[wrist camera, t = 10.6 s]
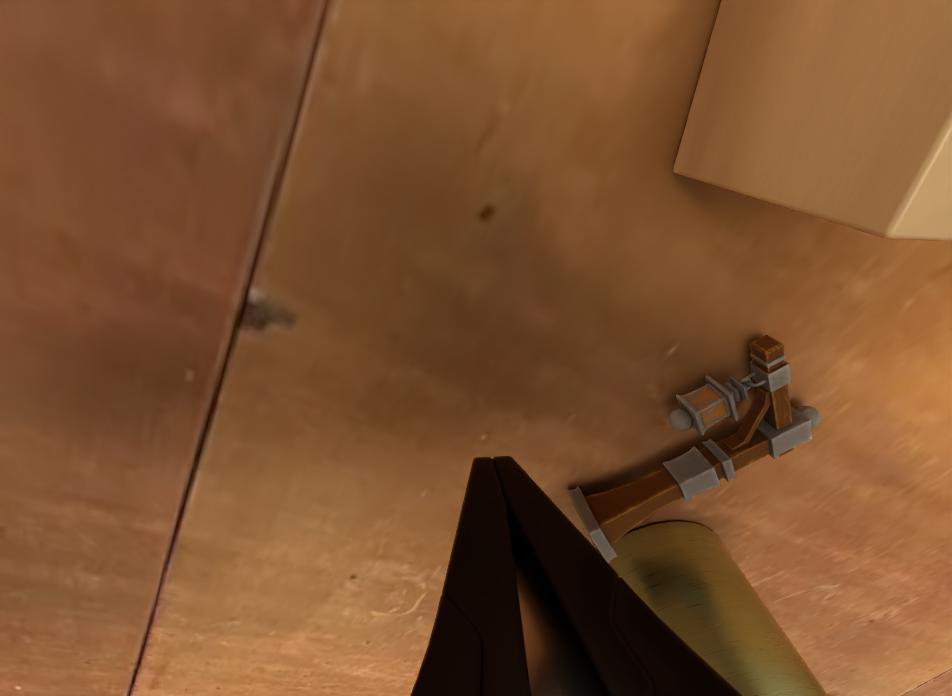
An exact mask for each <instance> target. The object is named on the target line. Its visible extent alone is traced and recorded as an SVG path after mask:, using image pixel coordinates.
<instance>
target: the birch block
mask: <svg viewBox="0 0 952 696" xmlns="http://www.w3.org/2000/svg"><path fill="white" fill-rule="evenodd" d="M673 172H675V173H676V174H679V175H683V176H686V177H689V178H692V179H695V180H699V181H702V182H705V183H708V184H712V185H715V186H718V187H721V188H724V189H728V190H731V191H734V192H737V193H741V194H744V195H747V196H750V197H753V198H757V199H760V200H763V201H766V202H770V203H773V204H776V205H779V206H782V207H786V208H789V209H792V210H795V211H799V212H802V213H805V214H808V215H811V216H815V217H818V218H821V219H824V220H828V221H831V222H834V223H837V224H840V225H844V226H847V227H850V228H853V229H857V230H860V231H863V232H866V233H869V234H873V235H876V236H879V237H882V238H889V239H912V240H936V241H952V0H721V4H720V7H719V11H718V14H717V18H716V21H715V25H714V28H713V32H712V35H711V39H710V42H709V46H708V49H707V53H706V56H705V60H704V63H703V67H702V70H701V74H700V77H699V80H698V84H697V87H696V91H695V94H694V98H693V101H692V105H691V108H690V112H689V115H688V119H687V122H686V126H685V129H684V133H683V136H682V140H681V143H680V147H679V150H678V154H677V157H676V161H675V164H674V168H673Z"/></svg>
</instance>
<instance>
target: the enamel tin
mask: <svg viewBox="0 0 952 696" xmlns="http://www.w3.org/2000/svg"><path fill="white" fill-rule="evenodd" d="M612 547H613V549H614V551H615V552H616V554H617V556H618V557H614V558H613V559H611V560H610V562H609V564H610V565H611V567H612V568H613V569H614V570H615V571H616V572H617V573H618V578H619V577H621V578H623V580H624V581H625V582H626V583H627V584H628V585H629V586H630V587H631V588H632V589H633V590H634V592H635V593H636V594H637V595H638V596H639V597H640V598H641V599H642V600H643V601H644V602H645V603H646V604H647V605H648V606H649V607H650V608H651V609H652V611H653V612H654V613H655V614H656V615H657V616H658V617H659V618H660V619H661V620H662V621H663V622H664V623H666V624H667V625H668V626H669V627H670V628H671V629H672V630H673V631H674V632H675V633H676V634H677V635H678V636H679V637H680V638H681V639H682V640H683V641H684V642H685V643H686V644H687V645H689V646H690V647H691V648H692V649H693V650H694V651H695V652H696V653H697V654H698V655H699V656H700V657H702V658H703V659H704V660H705V661H706V662H707V663H708V664H709V665H710V666H711V667H712V668H713V669H714V670H716V671H717V672H718V673H719V674H720V675H721V676H722V677H723V678H724V679H725V680H726V681H727V682H729V683H730V684H731V685H732V686H733V687H734V688H735V689H736V690H737V691H738V692H739V693H740V694H742V695H743V696H828V695H827V693H826V692H825V690H824V689H823V687H822V686H821V685H820V683H819V682H818V680H817V679H816V677H815V676H814V674H813V673H812V672H811V670H810V669H809V667H808V666H807V664H806V663H805V662H804V660H803V659H802V657H801V656H800V654H799V653H798V651H797V650H796V649H795V647H794V646H793V644H792V643H791V641H790V640H789V639H788V637H787V636H786V634H785V633H784V631H783V630H782V628H781V627H780V626H779V624H778V623H777V621H776V620H775V618H774V617H773V616H772V614H771V613H770V611H769V610H768V608H767V607H766V605H765V604H764V603H763V601H762V600H761V598H760V597H759V595H758V594H757V593H756V591H755V590H754V588H753V587H752V585H751V584H750V582H749V581H748V580H747V578H746V577H745V575H744V574H743V572H742V571H741V570H740V568H739V567H738V565H737V564H736V562H735V561H734V559H733V558H732V557H731V555H730V554H729V552H728V551H727V549H726V548H725V547H724V545H723V544H722V542H721V541H720V539H719V538H718V537H717V535H716V534H715V533H714V532H713V531H711V530H710V529H709V528H707V527H705V526H703V525H700V524H697V523H691V522H681V521H679V522H665V523H658V524H653V525H649V526H646V527H642V528H639V529H637V530H634V531H631V532H629V533H627V534H625V535H623V536H622V537H621V538H620V539H618V540H617V541H616V542H615V543H614V544H613V545H612ZM598 552H599V553H600V554H601V552H600V551H598ZM601 556H602V557H603V555H602V554H601ZM603 558H604V557H603ZM604 559H605V558H604Z"/></svg>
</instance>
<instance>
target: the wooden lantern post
mask: <svg viewBox="0 0 952 696" xmlns="http://www.w3.org/2000/svg"><path fill="white" fill-rule="evenodd" d="M749 346H750V349H751V352H752V353H751V354H750V355H751V358H753V361H751V362H749V364H750V369H751V374H750V375H748V376H747V377H746V378H743V379H741V380H740V381H739V380H737V379H735V378H733V377H731V376H730V379H731V383H732V386H731V385H730V384H728V383H727V382H726V384H725V385H722V384H720V383H718V382H717V381H715V380H713V379H712V378H711V377H709V376H708V375H707V376H705V379H706V382H707V384H706V385H705V386H703V387H701V388H699V389H697V390H695V391H692V392H690V393H688V394H686V395H680V396H679V395H676V398H677V401H678V404H679V406H680V409H676V410H674V411H672V412H671V414H670V415H669V423H670V425H671V426H672V427H673V428H674V429H676V430H686V429H688V428H690V427H691V425H692V426H693V427H694V428H695V429H696V430H697V431H698V432H699V433H700V434H701V435H704V432H705V431H706V430H707V429H708V428H709V427H710V426H712V425H714V424H715V423H717V422H718V421H720V420H722V419H723V418H725V417H727V416H731V417H732V418H733V419H734V420H735V421H737V420H739V418H738V414H737V411H736V404H735V403H736V401H740V399H739V395H740V396H741V397H743V398H744V399H745V400H747V401H748V394H747V390H749V389H750V388H751V386H758V387H757V392H756V398H755V400H754V402H753V403H752V405H751V407H750V409H749V411H748V413H747V415H746V416H745V418H744V420H743V422H742V424H741V426H740V427H739V429H738V431H737V433H736V434H733V435H731V436H729V437H727V438H725V439H723V440H720V441H718V442H716V443H714V442H713V441H712V440H711V439H709V440H708V441H706V442H702V443H703V446H704V448H703V449H701V450H699V451H698V450H697V449H696V448H695V446H694V447H693V448H692V449H690V450H689V451H688V452H687V453H685V454H683V455H681V456H679V457H677V458H675V459H673V460H671V461H667V462H663V465H664V469H662V470H660V471H658V472H656V473H654V474H651V475H649V476H647V477H645V478H642V479H640V480H637V481H634V482H631V483H628V484H625V485H623V486H620V487H617V488H614V489H611V490H608V491H606V492H602V493H598V494H593V495H589V496H585V497H584V495H583V493H582V492H581V490H580V489H579V487H577V488H576V489H573V490H568V492H569V495H570V497H571V499H572V501H573V503H574V505H575V507H576V509H577V511H578V513H579V515H580V518H581V520H582V522H583V524H584V526H585V528H586V530H587V532H588V534H589V536H590V537H591V539H592V540H593V542H594V543H595V545H596V546H597V548H598V549H599V551H600V552H601V554H602V555H603V557H604V558H605V560H606V561H607V562H608V563H609V562H610V560H611V559H613V558H614V557H618V556H617V554H616V552H615V551H614V549H613V547H612V545H613V544H614V543H615V542H616V541H617V540H618V539H620V538H621V537H622V536H623V535H624V534H626V533H627V532H628V531H629V530H631V529H632V528H634V527H635V526H637V525H638V524H640V523H641V522H643V521H644V520H646V519H647V518H649V517H650V516H652V515H653V514H655V513H656V512H658V511H659V510H661V509H662V508H664V507H666V506H667V505H669V504H671V503H673V502H675V501H677V500H679V499H681V498H683V497H684V499H685V500H686V501H687V502H688V501H689V500H690V499H692V498H693V497H694V496H696V495H698V494H700V493H702V492H704V491H706V490H709V489H711V488H715V487H719V486H720V483H719V480H720V479H722V478H723V477H724V478H725V479H726V480H727V481H728V482H729V481H730V480H731V479H734V478H736V474H735V471H737V470H739V469H741V468H743V467H745V466H747V465H749V464H751V463H753V462H755V461H756V460H758V459H760V458H762V457H764V456H766V455H768V454H769V455H770V456H772V457H773V458H774V459H775V458H776V457H777V456H779V457H780V456H782V455H784V454H786V453H788V452H790V451H792V450H794V448H793V447H795V446H797V445H799V444H801V443H803V442H808V441H812V429H811V428H815V427H817V426H818V425H819V424H820V421H821V415H820V413H819V412H818V411H817V410H816V409H815V408H813V407H810V406H802V407H798V408H797V409H795V408H793V407H792V406H790V400H789V392H788V383H790V382H792V380H791V371H790V364H789V363H787V362H786V361H785V359H786V355H785V354H784V345H783V344H782V343H780V342H778V341H776V340H775V339H773V338H771V337H769V336H768V335H765V336H763V337H762V338H760V339H758V340H756V341H754V342H752V343H751V344H749ZM751 377H752V379H753V380H754V381H755V382H757V383H756V384H755V383H752V380H751V379H750V378H751ZM744 381H745V382H746V384H747V385H748V386H747V387H746V385H745V384H744V383H743V382H744Z"/></svg>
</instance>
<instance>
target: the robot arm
mask: <svg viewBox="0 0 952 696" xmlns="http://www.w3.org/2000/svg"><path fill="white" fill-rule="evenodd" d="M410 696H743V695H742V694H740V693H739V692H738V691H737V690H736V689H735V688H734V687H733V686H732V685H731V684H730V683H729V682H727V681H726V680H725V679H724V678H723V677H722V676H721V675H720V674H719V673H718V672H717V671H716V670H714V669H713V668H712V667H711V666H710V665H709V664H708V663H707V662H706V661H705V660H704V659H703V658H702V657H700V656H699V655H698V654H697V653H696V652H695V651H694V650H693V649H692V648H691V647H690V646H689V645H687V644H686V643H685V642H684V641H683V640H682V639H681V638H680V637H679V636H678V635H677V634H676V633H675V632H674V631H673V630H672V629H671V628H670V627H669V626H668V625H667V624H666V623H664V622H663V621H662V620H661V619H660V618H659V617H658V616H657V615H656V614H655V613H654V612H653V611H652V609H651V608H650V607H649V606H648V605H647V604H646V603H645V602H644V601H643V600H642V599H641V598H640V597H639V596H638V595H637V594H636V593H635V592H634V590H633V589H632V588H631V587H630V586H629V585H628V584H627V583H626V582H625V581H624V580H623V578H621V577H619V578H618V573H617V572H616V571H615V570H614V569H613V568H612V567H611V565H610V564H609V563H608V562H607V561H606V560H605V559H604V558H603V557H602V556H601V554H600V553H599V552H598V551H597V550H596V549H595V548H594V547H593V546H592V545H591V543H590V542H589V541H588V540H587V539H586V538H585V537H584V536H583V535H582V534H581V532H580V531H579V530H578V529H577V528H576V527H575V526H574V525H573V524H572V523H571V521H570V520H569V519H568V518H567V517H566V516H565V515H564V514H563V513H562V512H561V511H560V509H559V508H558V507H557V506H556V505H555V504H554V503H553V502H552V501H551V500H550V498H549V497H548V496H547V495H546V494H545V493H544V492H543V491H542V490H541V489H540V487H539V486H538V485H537V484H536V483H535V482H534V481H533V480H532V479H531V478H530V476H529V475H528V474H527V473H526V472H525V471H524V470H523V469H522V468H521V467H520V465H519V464H518V463H517V462H516V461H515V460H514V459H513V458H512V457H510V456H497V457H494V458H493V459H492V458H491V457H477V458H474V460H473V463H472V467H471V471H470V476H469V480H468V484H467V488H466V493H465V497H464V501H463V505H462V510H461V514H460V518H459V522H458V527H457V531H456V535H455V539H454V544H453V548H452V552H451V556H450V561H449V565H448V569H447V573H446V578H445V582H444V586H443V590H442V596H441V598H440V602H439V606H438V611H437V615H436V619H435V622H434V626H433V630H432V633H431V637H430V641H429V644H428V647H427V650H426V653H425V656H424V659H423V662H422V665H421V668H420V671H419V674H418V677H417V679H416V682H415V685H414V687H413V690H412V693H411V695H410Z"/></svg>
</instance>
